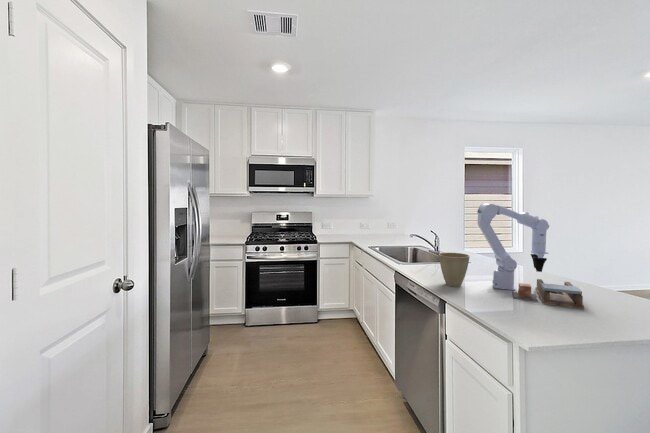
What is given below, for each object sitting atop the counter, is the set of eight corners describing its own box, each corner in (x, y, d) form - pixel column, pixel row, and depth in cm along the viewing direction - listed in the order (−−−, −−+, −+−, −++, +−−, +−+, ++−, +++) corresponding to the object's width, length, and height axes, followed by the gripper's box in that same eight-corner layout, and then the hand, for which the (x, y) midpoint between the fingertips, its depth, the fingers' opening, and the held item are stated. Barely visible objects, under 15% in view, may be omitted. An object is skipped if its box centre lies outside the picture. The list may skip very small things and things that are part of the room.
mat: (513, 298, 141) (513, 297, 141) (512, 292, 149) (512, 291, 149) (537, 301, 137) (537, 299, 137) (534, 295, 145) (534, 294, 145)
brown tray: (542, 303, 134) (542, 291, 134) (535, 289, 155) (535, 278, 154) (583, 308, 128) (584, 296, 128) (570, 293, 148) (571, 282, 148)
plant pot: (475, 286, 161) (475, 255, 160) (456, 290, 154) (456, 258, 153) (450, 279, 174) (451, 251, 173) (432, 283, 167) (432, 254, 166)
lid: (543, 290, 135) (544, 287, 135) (541, 285, 142) (541, 283, 142) (582, 294, 129) (582, 291, 129) (577, 289, 136) (577, 286, 136)
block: (519, 296, 142) (519, 285, 142) (518, 293, 146) (518, 283, 146) (531, 297, 140) (531, 286, 140) (529, 294, 144) (530, 284, 144)
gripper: (551, 245, 146) (550, 273, 147) (546, 241, 159) (545, 267, 160) (533, 244, 150) (532, 272, 150) (529, 240, 162) (528, 266, 163)
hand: (537, 269), depth 155 cm, fingers open, 7 cm apart
